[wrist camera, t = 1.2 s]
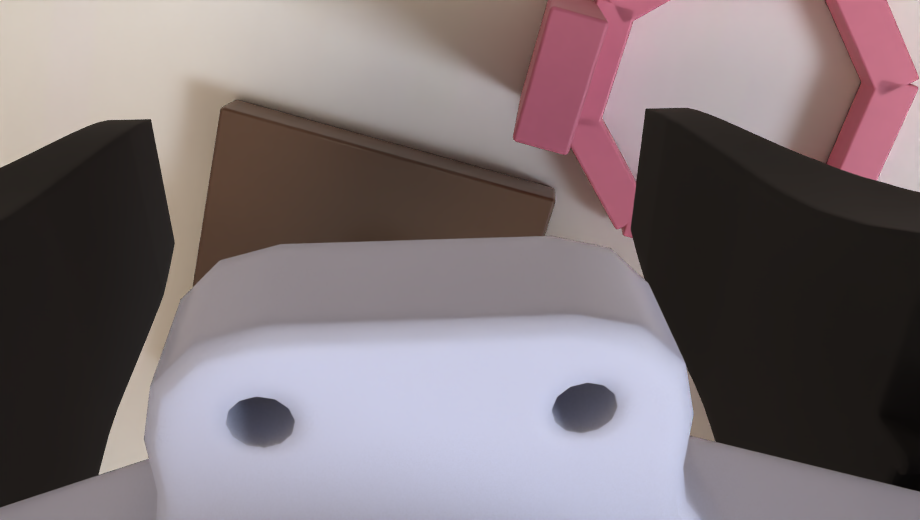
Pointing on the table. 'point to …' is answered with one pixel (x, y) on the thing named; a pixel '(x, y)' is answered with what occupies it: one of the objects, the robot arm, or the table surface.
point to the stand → (347, 190)
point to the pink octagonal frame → (597, 60)
